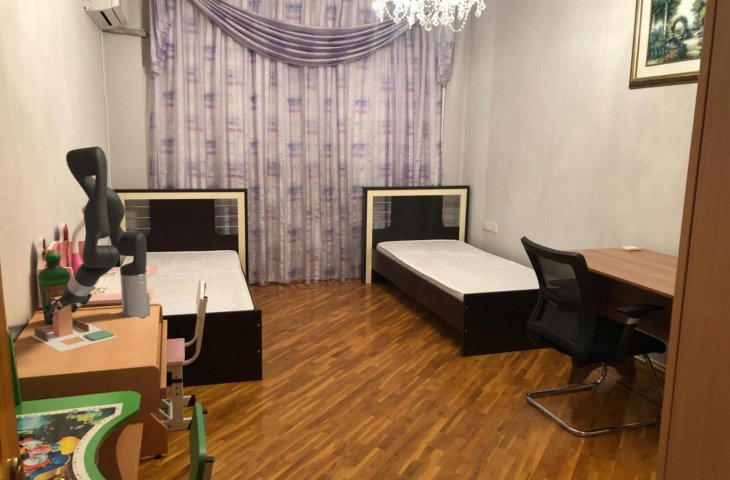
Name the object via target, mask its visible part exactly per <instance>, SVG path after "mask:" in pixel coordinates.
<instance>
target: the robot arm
mask: <svg viewBox="0 0 730 480" xmlns="http://www.w3.org/2000/svg"><path fill="white" fill-rule="evenodd" d="M65 161H66V165H67V167H68V169H69V171H70V173H71V174H72V176H73V178H74V179H75V181H76V182H77V183H78V184H79V186H80V187H81V189H82V190H83V192H84V193H85V195H86V196H87V198H88V200H87V202H86V205H85V207H84V210H83V211H84V212H83V221H84V228H85V236H84V237H85V238H84V245H83V249H82V255H81V256H82V261H83V263H82V264H81V265H80V266H79V267H78V269H77V270H76V272H75V273H74V274H73V275H72V276H70V280H69V282H68V283H67V285H66V286H65V288H64V289H63V296H61V297H60V298H59V299H57V300H55V298H52V299H51V300H50V302H49V303H48V304H47V306H46V307H45V310H46V311H47V314H46V316H47V317H48V318H49V319H52V318H53V316H54V315H55V314H56V312H58V311H59V310H60V311H62V310H63V309H65V308H66V307H68V306H71V311H72V314H75V313H76V312H77V310H79V308H81V307H82V305H84V306H85V305H87V304H88V303H89V302H90V299H91V298H92V296H93V294H92V293H91V292H93V291H92V290H93V289H94V288H95V286H96V284H97V283H98V281H99V279H100V278H101V277H102V276H104V275H106V274H107V273H108V272H110V271H111V270H113V268H115V266H116V265H117V264H118V262H119V258H120V256H122V257H133V258H132V261H131V262H129V263H126V264H123V265H121V266H120V268H119V271H120V272H119V274H120V289H121V290H120V292H121V293H120V294H121V309H122V310H121V311H122V312H121V314H122V316H124V317H128V318H139V319H142V318H147V317H148V316H151V303H150V299H151V298H150V291H149V290H148V287H147V286H148V285H147V253H148V251H147V248H148V247H147V244H148V243H147V238H146V235H145V234H144V233H143V232H140V231H139V232H138V231H136V232H135V231H124V230H123V228H122V227H121V226H122V225H121V224H122V222H123V219H124V217H125V213H126V209H125V206H124V203H123V202H122V200H121V198H120V195H119V194H118V193H117V192H116V191H115V190H114V189H112V188H110V187H108V160H107V157H106V153H105V152H104V150H103V148H101V147H100V146H89V147H83V148H82V147H81V148H76V149H75V148H74V149H71V150H68V152H67V153H66V154H65ZM94 176H95V178H94ZM107 237H109V240H110V242H111V244H112V245H109V244H108V245H103V244H101V245H98V242H99V240H103V239H106V238H107ZM59 303H61V304H62V306H63V307H61V306H60V305H59ZM56 307H57V309H56V310H55V308H56Z"/></svg>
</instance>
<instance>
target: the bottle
mask: <svg viewBox="0 0 730 480" xmlns="http://www.w3.org/2000/svg"><path fill="white" fill-rule="evenodd" d="M46 251H47V253H45V254H44V261H45V262H46V267H45V268H43V269H42V270H40V271H39V273H38V275H37V279H38V280H37V281H38V287H39V293H40V294H39V295H40V300H41V305H42V306H41V307H42V314H43V315H42V316H43V321H44V324H45V325H48V326H49V325H53V318H52V319H49V318H48V317H47V316H46V314H47V311H46V310H45V307H46V306H47V304H48V303H49V302H50V300H51V298H54V297H59V296H63V289H64V288H65V286H66V285H67V283H68V282H69V280H70V279H71V273H70V272H69V270H68V269H67V268H65V267H63V266H61V264H60V263H61V260H62V256H61V253H60V252H58V249H53V248H52V249H48V250H46Z"/></svg>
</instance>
